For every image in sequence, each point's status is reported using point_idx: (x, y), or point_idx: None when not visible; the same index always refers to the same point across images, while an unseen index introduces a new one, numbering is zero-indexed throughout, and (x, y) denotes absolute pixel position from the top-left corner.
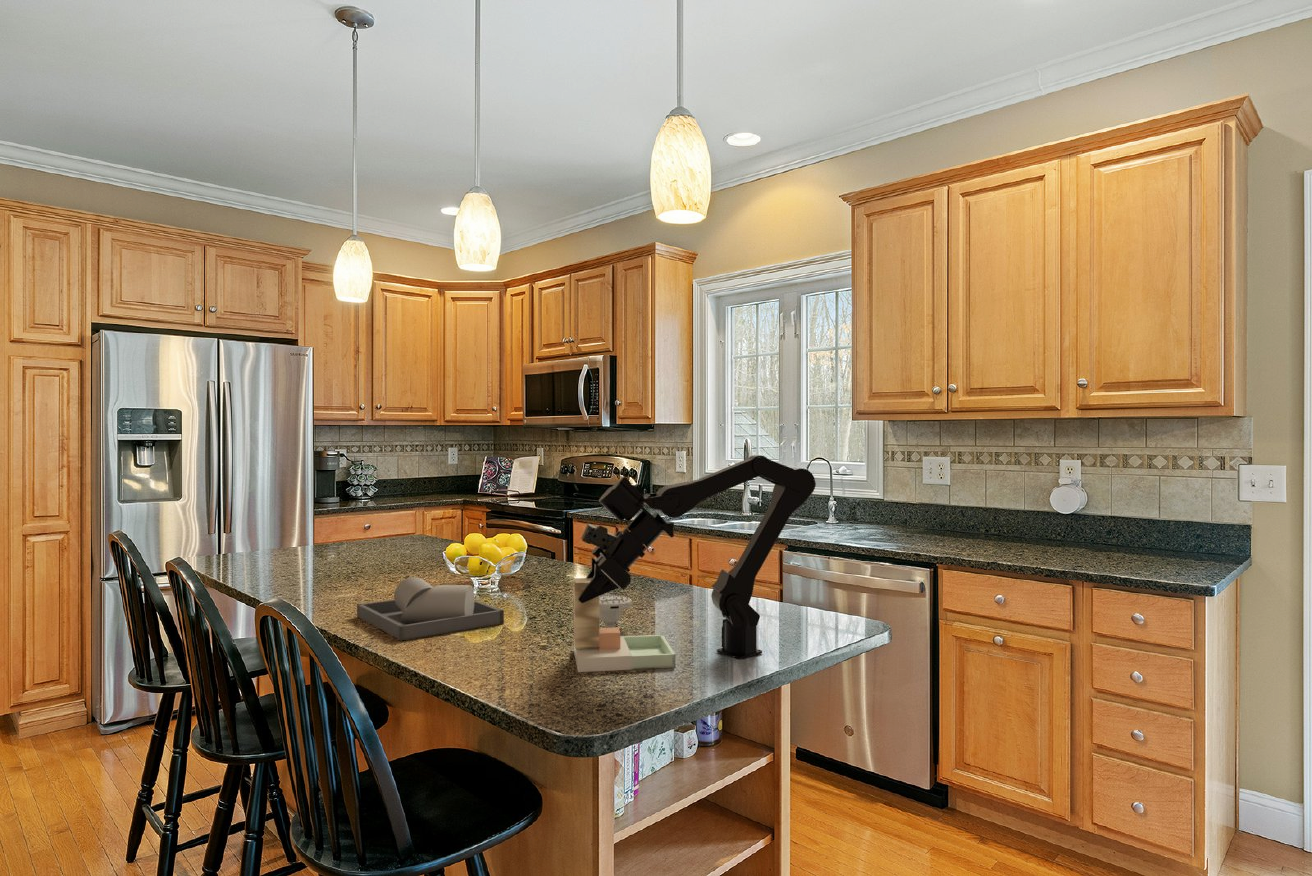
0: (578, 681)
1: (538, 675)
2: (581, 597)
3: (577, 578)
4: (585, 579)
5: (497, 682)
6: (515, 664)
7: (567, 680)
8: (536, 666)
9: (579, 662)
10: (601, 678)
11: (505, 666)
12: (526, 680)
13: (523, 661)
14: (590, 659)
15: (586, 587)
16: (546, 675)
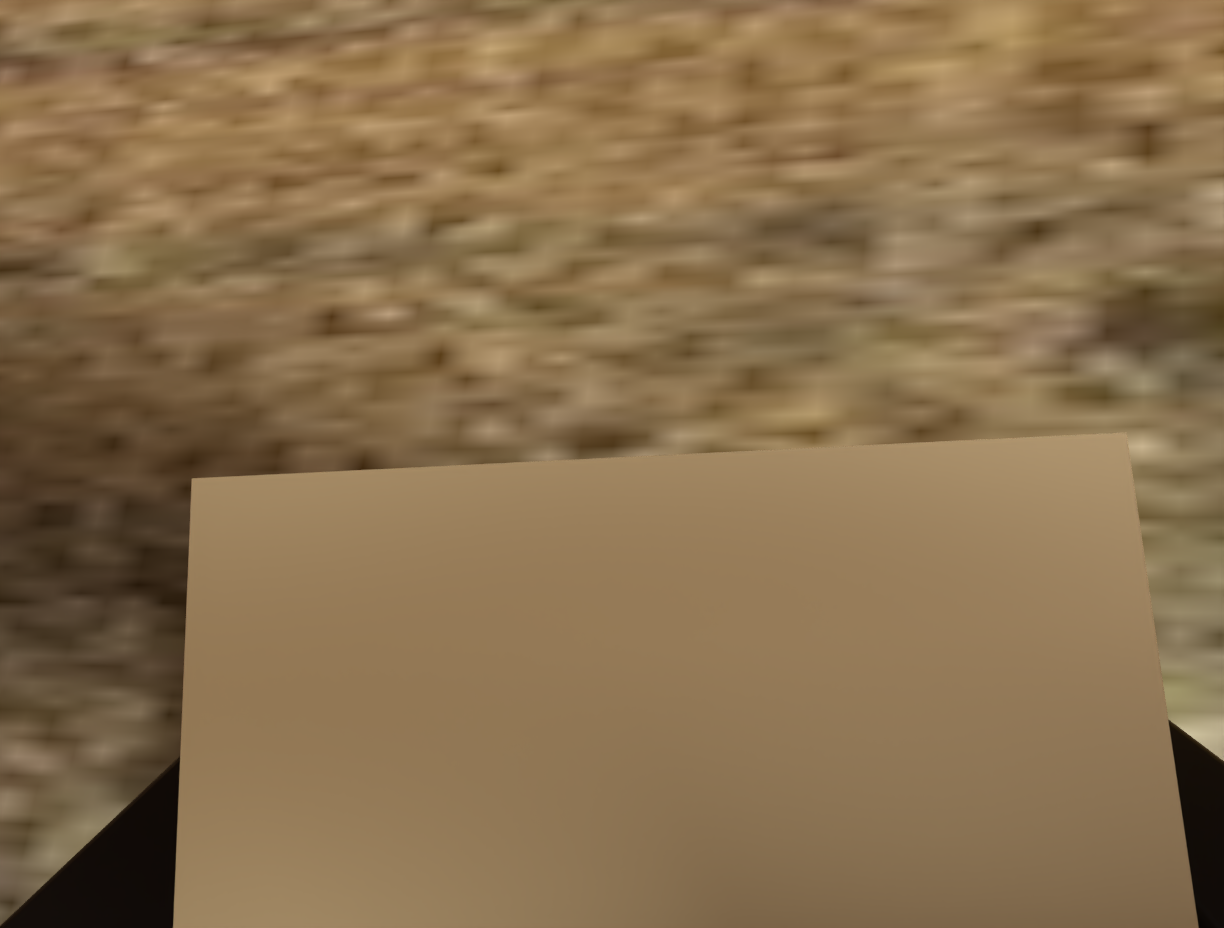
0: (31, 654)
1: (269, 310)
2: None
3: (1136, 578)
4: (894, 920)
5: (153, 16)
6: (617, 106)
7: (81, 557)
8: (533, 281)
9: None
10: None
11: (569, 33)
12: (155, 223)
13: (701, 164)
14: None
15: (100, 895)
16: (257, 376)
